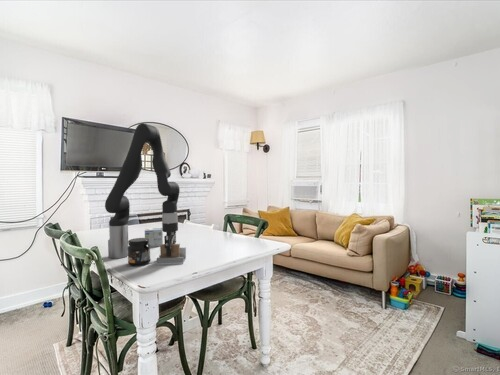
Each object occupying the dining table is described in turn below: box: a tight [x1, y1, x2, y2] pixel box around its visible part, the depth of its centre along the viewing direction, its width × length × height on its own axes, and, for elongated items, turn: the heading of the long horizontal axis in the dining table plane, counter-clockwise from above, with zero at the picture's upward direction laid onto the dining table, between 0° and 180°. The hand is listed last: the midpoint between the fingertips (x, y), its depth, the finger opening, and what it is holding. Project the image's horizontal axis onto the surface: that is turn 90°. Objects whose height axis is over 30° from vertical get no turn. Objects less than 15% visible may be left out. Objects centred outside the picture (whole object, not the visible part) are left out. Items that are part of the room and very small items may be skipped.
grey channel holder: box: [155, 246, 187, 266], centre depth 139 cm, size 13×9×6 cm
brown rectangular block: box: [159, 243, 181, 258], centre depth 139 cm, size 9×3×8 cm, turn 93°
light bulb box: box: [144, 227, 164, 248], centre depth 173 cm, size 11×7×11 cm, turn 108°
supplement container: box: [127, 237, 151, 267], centre depth 137 cm, size 10×10×12 cm
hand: (170, 254), depth 137 cm, fingers open, 8 cm apart
